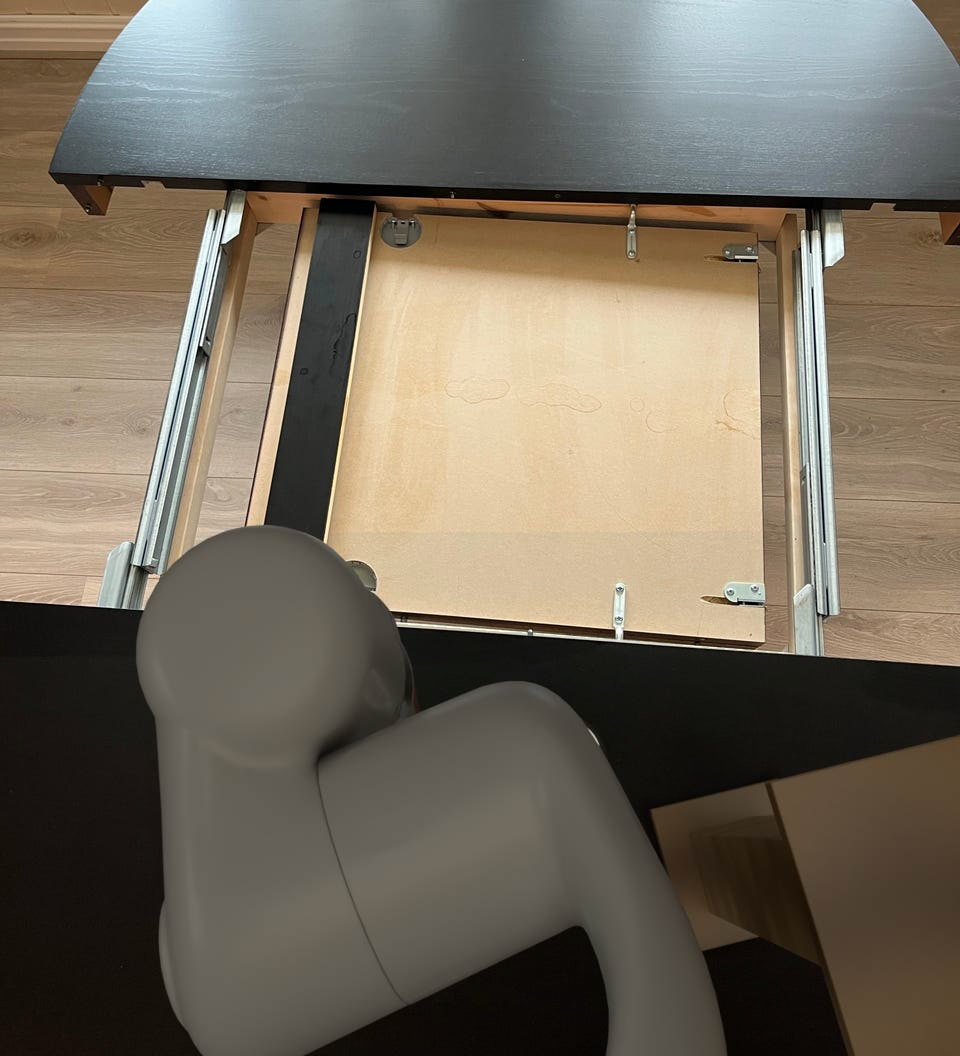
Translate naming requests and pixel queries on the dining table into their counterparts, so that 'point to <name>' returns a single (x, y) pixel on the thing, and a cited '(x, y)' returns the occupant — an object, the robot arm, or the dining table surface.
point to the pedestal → (839, 886)
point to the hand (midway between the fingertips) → (377, 730)
